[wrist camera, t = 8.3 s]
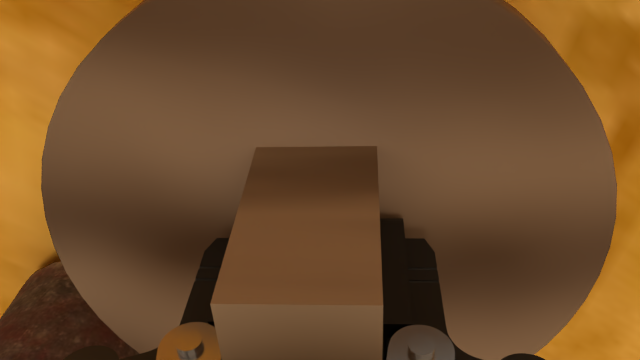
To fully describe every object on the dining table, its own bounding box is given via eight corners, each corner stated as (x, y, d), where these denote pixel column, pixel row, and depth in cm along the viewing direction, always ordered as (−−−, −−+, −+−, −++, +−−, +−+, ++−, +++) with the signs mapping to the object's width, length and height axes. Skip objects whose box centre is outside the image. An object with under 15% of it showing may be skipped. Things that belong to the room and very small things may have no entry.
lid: (-21, -45, 13) (-274, 70, 8) (669, -70, 12) (904, 44, 7) (128, 381, 21) (52, 577, 16) (549, 390, 20) (615, 603, 15)
